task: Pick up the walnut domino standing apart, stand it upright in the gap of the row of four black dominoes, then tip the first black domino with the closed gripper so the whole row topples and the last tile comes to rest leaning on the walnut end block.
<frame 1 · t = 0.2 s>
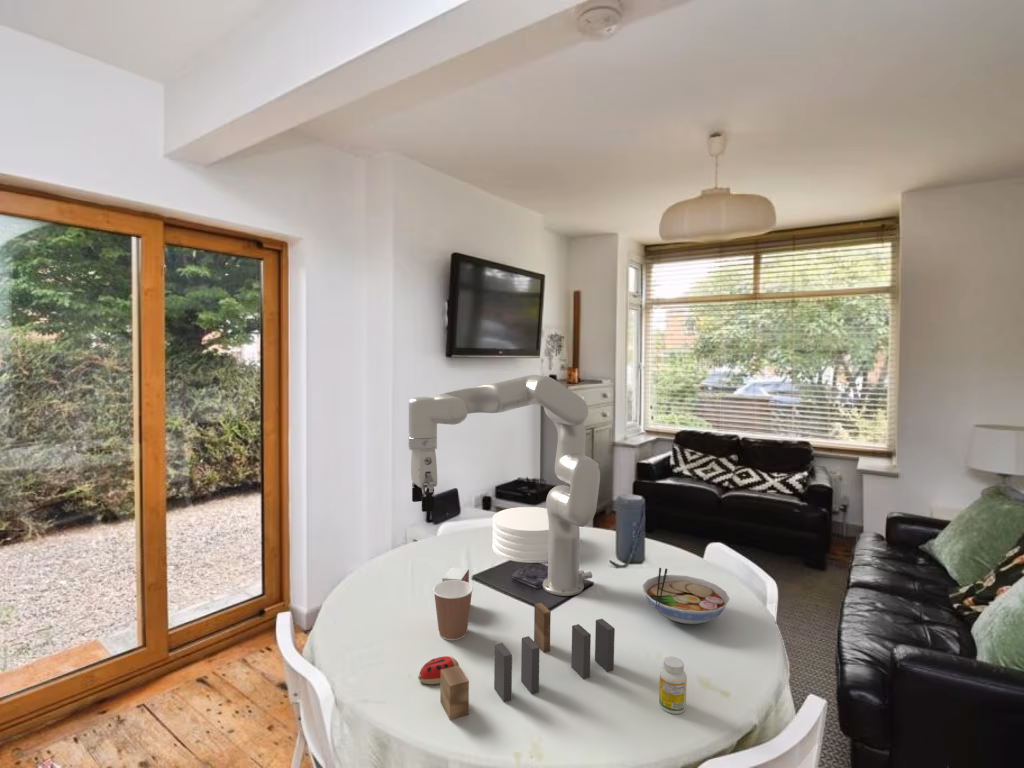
hand: (422, 506, 148), 31 cm above the table, fingers open, 9 cm apart
domino 3: (541, 646, 136), on the table
end block: (454, 708, 112), on the table
ladybug figurine: (439, 677, 123), on the table
domino 4: (529, 686, 120), on the table
domino 1: (604, 665, 128), on the table
ramen bowl: (684, 618, 151), on the table
plate stack: (530, 548, 203), on the table
coffee cup: (453, 634, 141), on the table
domino 2: (580, 672, 125), on the table
domino 5: (502, 694, 117), on the table
small box: (455, 610, 154), on the table
supplement bottle: (672, 707, 114), on the table
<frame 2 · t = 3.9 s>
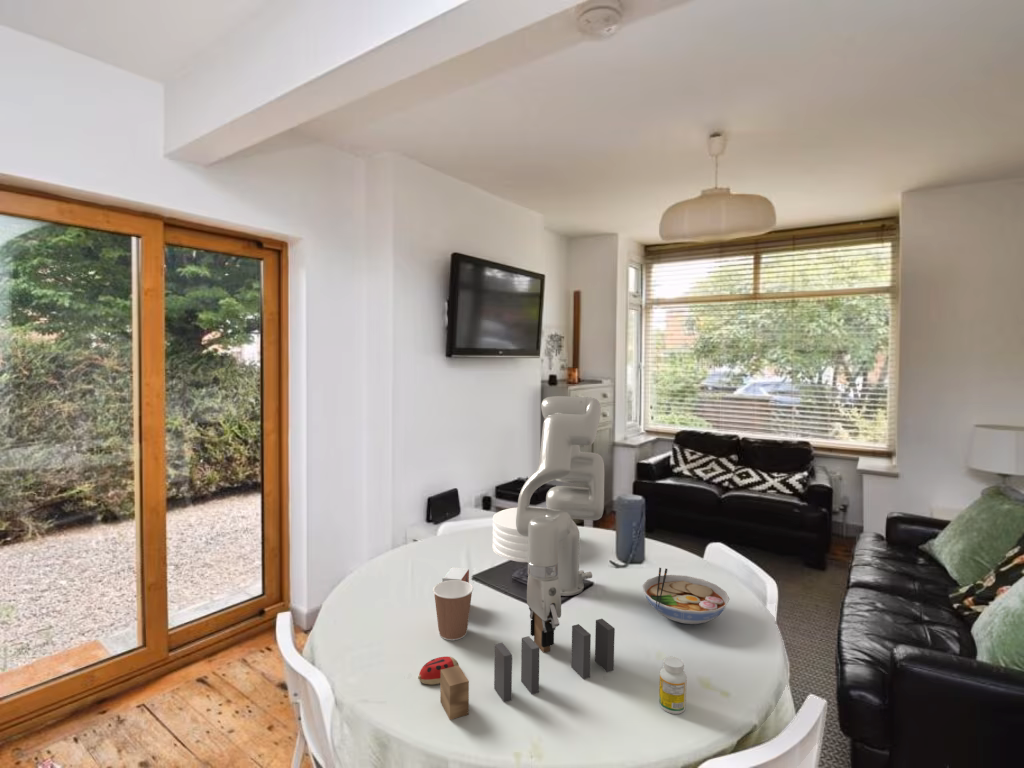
hand: (542, 639, 135), 2 cm above the table, fingers closed on domino 3, 4 cm apart
domino 3: (541, 646, 135), on the table, touching gripper
everything else where it was.
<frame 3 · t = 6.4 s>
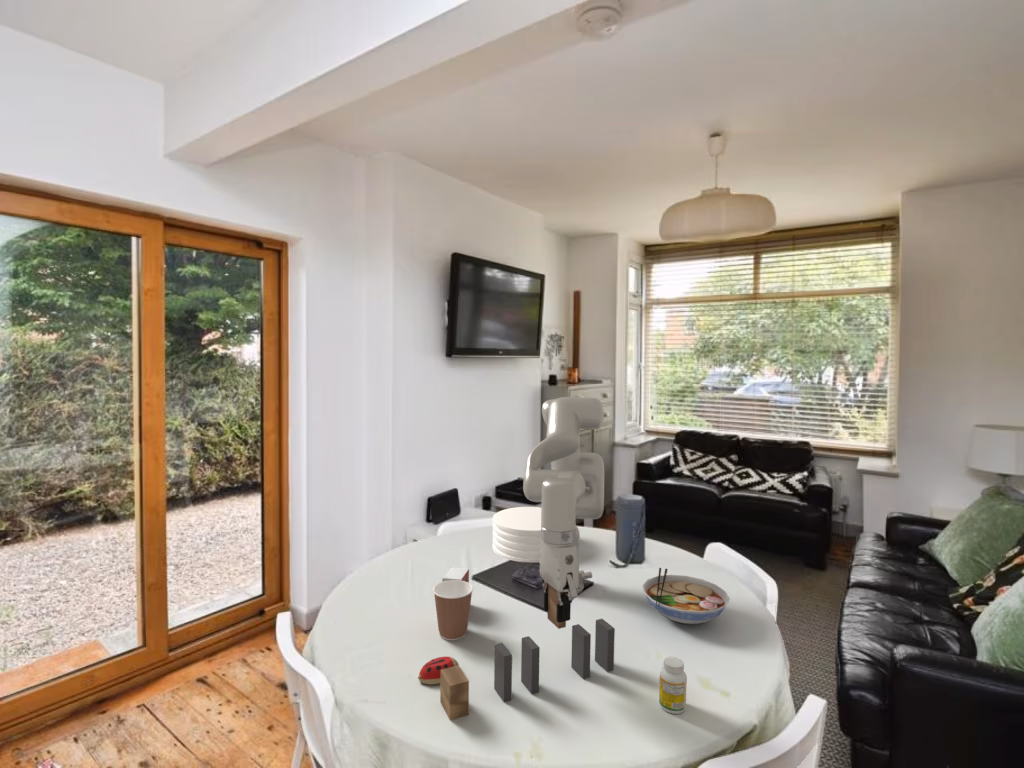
hand: (556, 614, 121), 15 cm above the table, fingers closed on domino 3, 4 cm apart
domino 3: (556, 622, 121), point 13 cm above the table, touching gripper
everything else where it was.
when the fingers open (3 cm above the table, at t = 8.9 s): domino 3 stays where it is, on the table.
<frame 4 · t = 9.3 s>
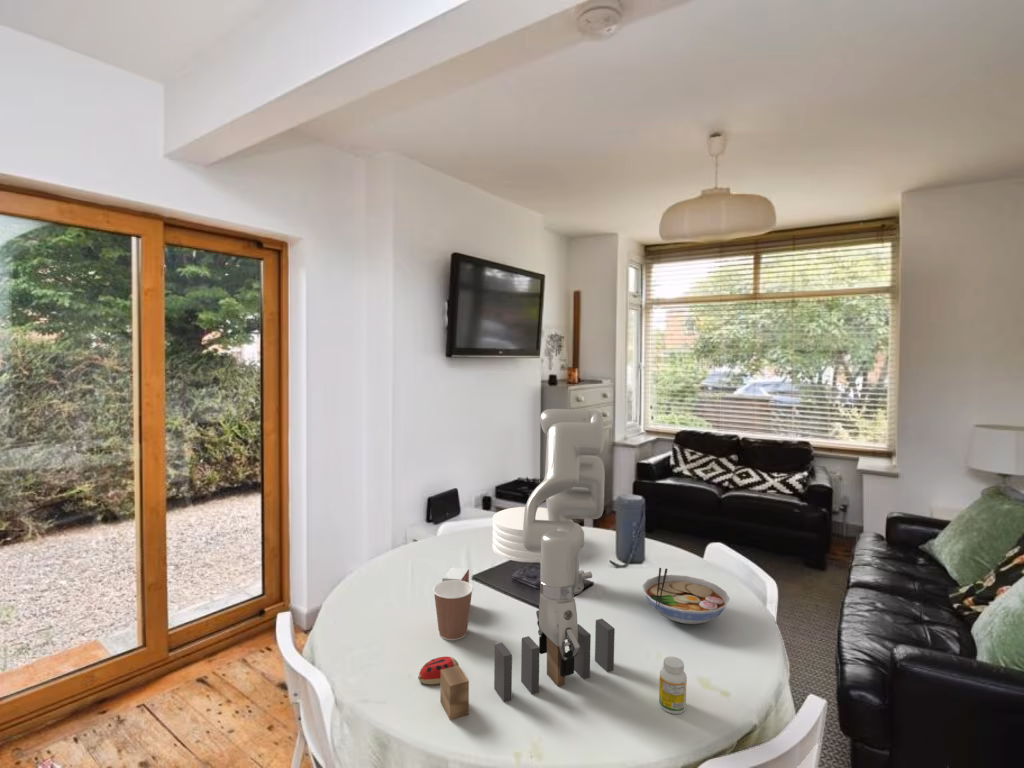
hand: (555, 663, 122), 4 cm above the table, fingers open, 9 cm apart
domino 3: (555, 679, 122), on the table
everything else where it was.
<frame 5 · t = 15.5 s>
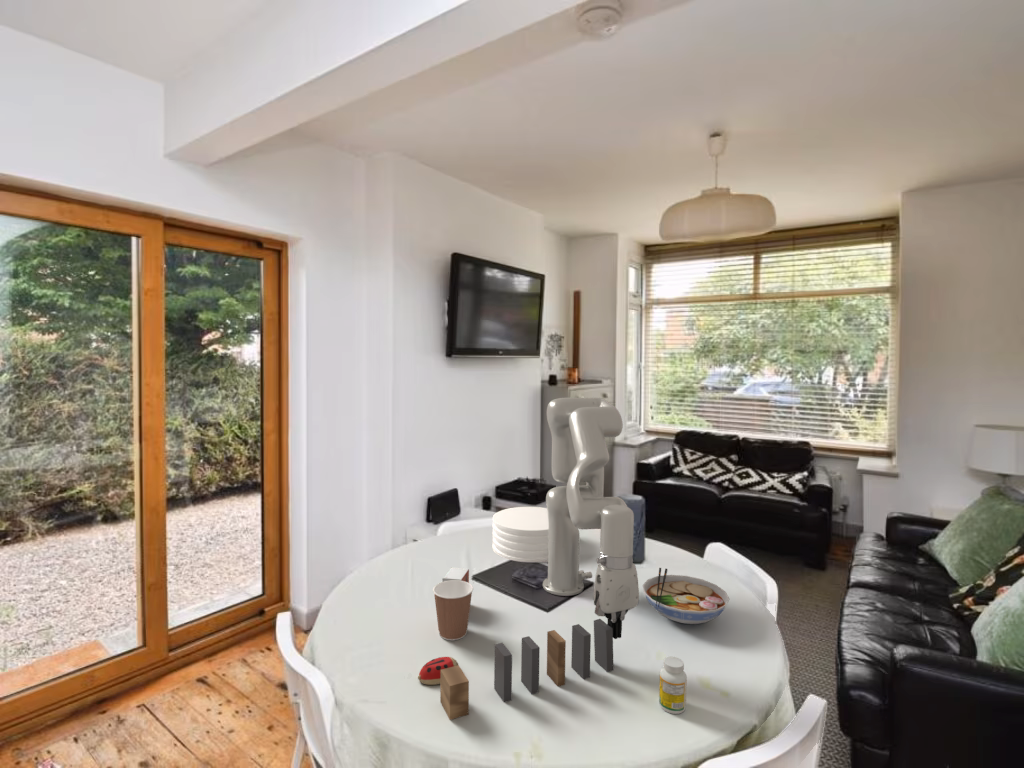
hand: (614, 635, 128), 7 cm above the table, fingers closed
nothing on the table moved.
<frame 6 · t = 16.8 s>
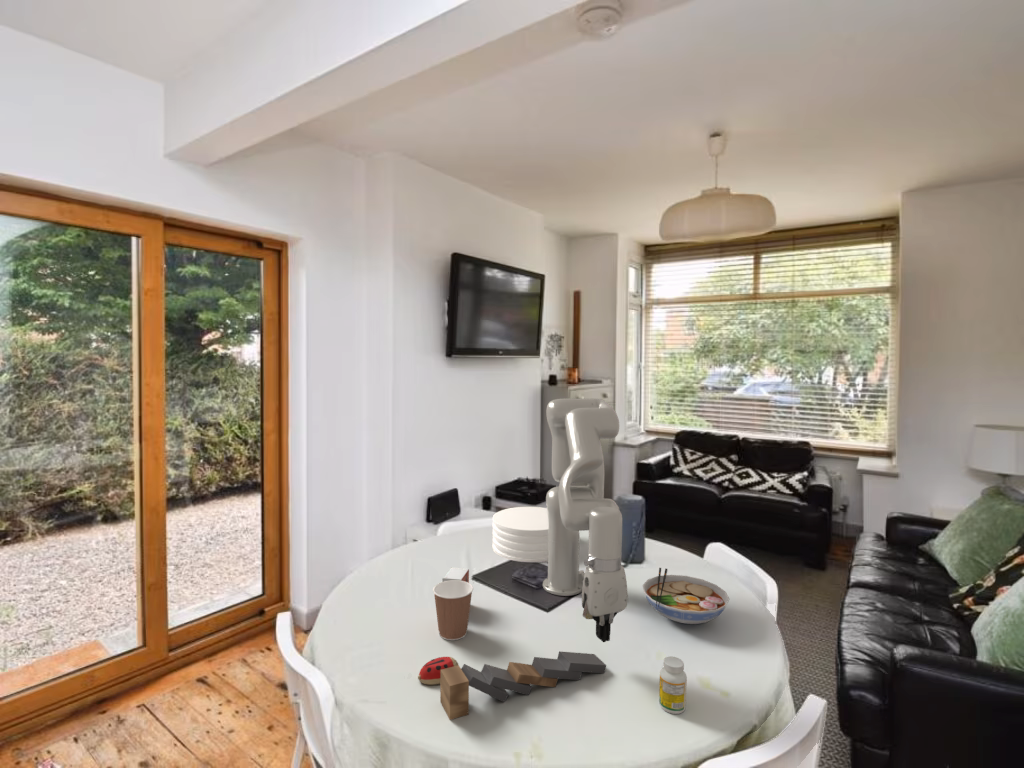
hand: (602, 638, 127), 7 cm above the table, fingers closed
domino 3: (551, 676, 122), point 1 cm above the table, tilted 70°, touching domino 2, domino 4
domino 4: (524, 684, 119), point 1 cm above the table, tilted 63°, touching domino 3, domino 5
domino 1: (599, 663, 127), point 1 cm above the table, tilted 73°, touching domino 2
domino 2: (575, 670, 124), point 1 cm above the table, tilted 72°, touching domino 1, domino 3
domino 5: (501, 691, 117), point 1 cm above the table, tilted 54°, touching domino 4, end block
everything else where it was.
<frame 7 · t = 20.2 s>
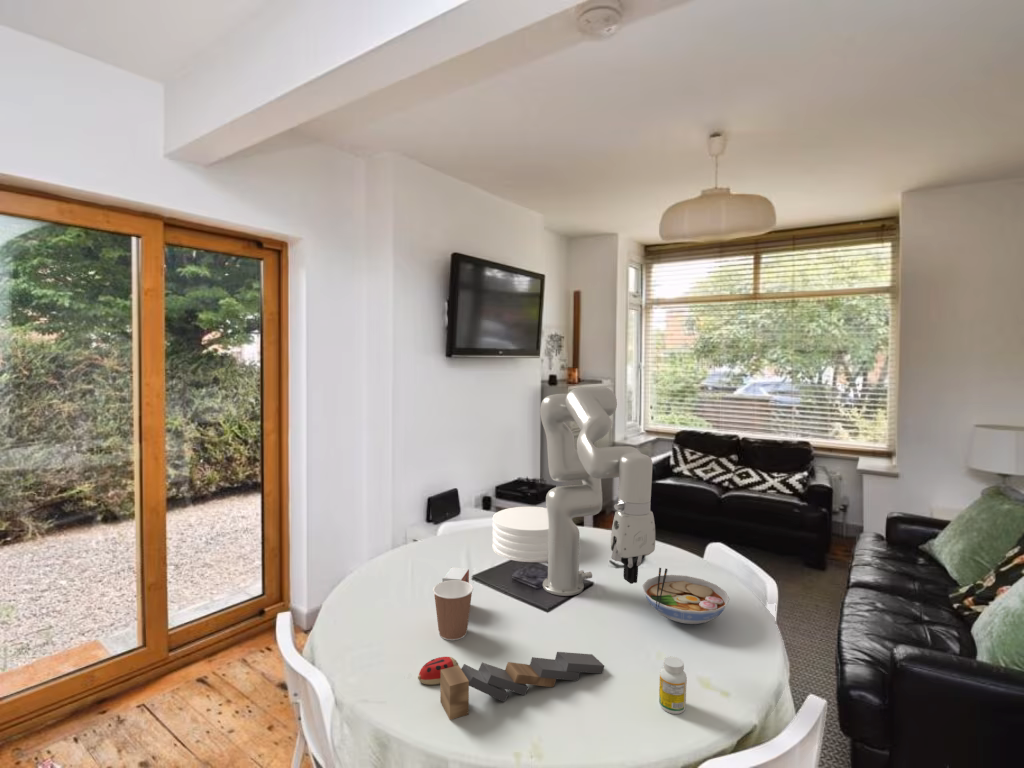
hand: (630, 580, 131), 19 cm above the table, fingers closed
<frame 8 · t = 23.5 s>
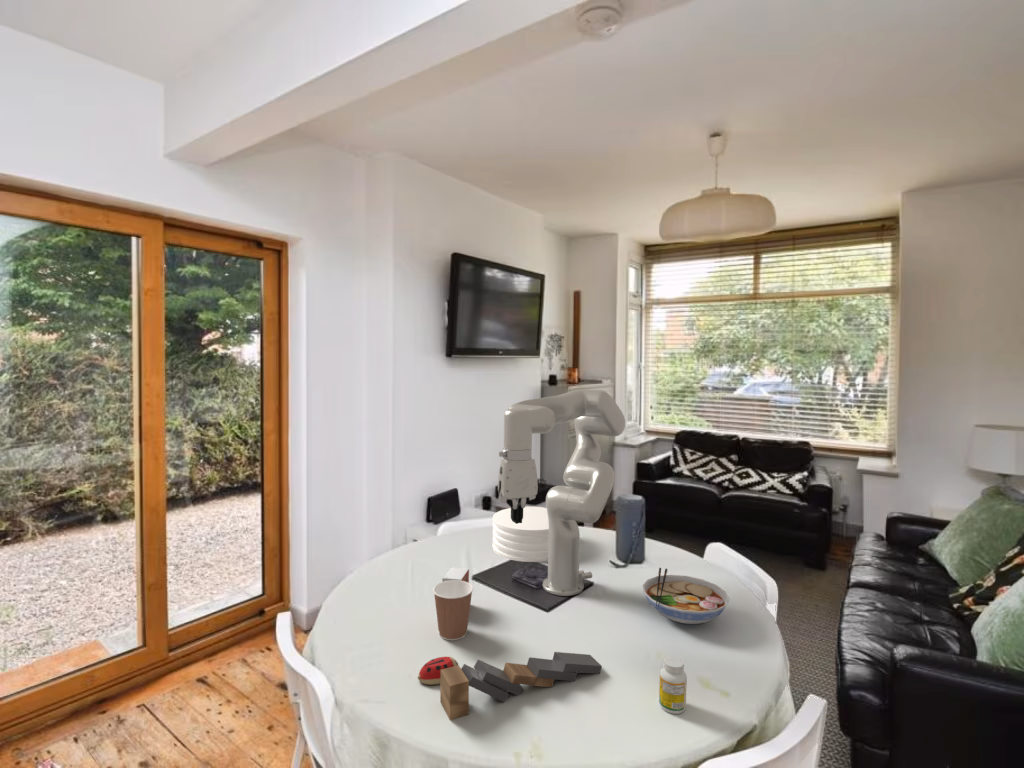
hand: (516, 521, 147), 27 cm above the table, fingers closed
domino 4: (515, 685, 119), point 1 cm above the table, tilted 56°, touching domino 3, domino 5
at the end: domino 5 tilted 54°; domino 3 tilted 71°; domino 3 inside the target area (1.1 cm from its centre), point 0.9 cm above the table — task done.
